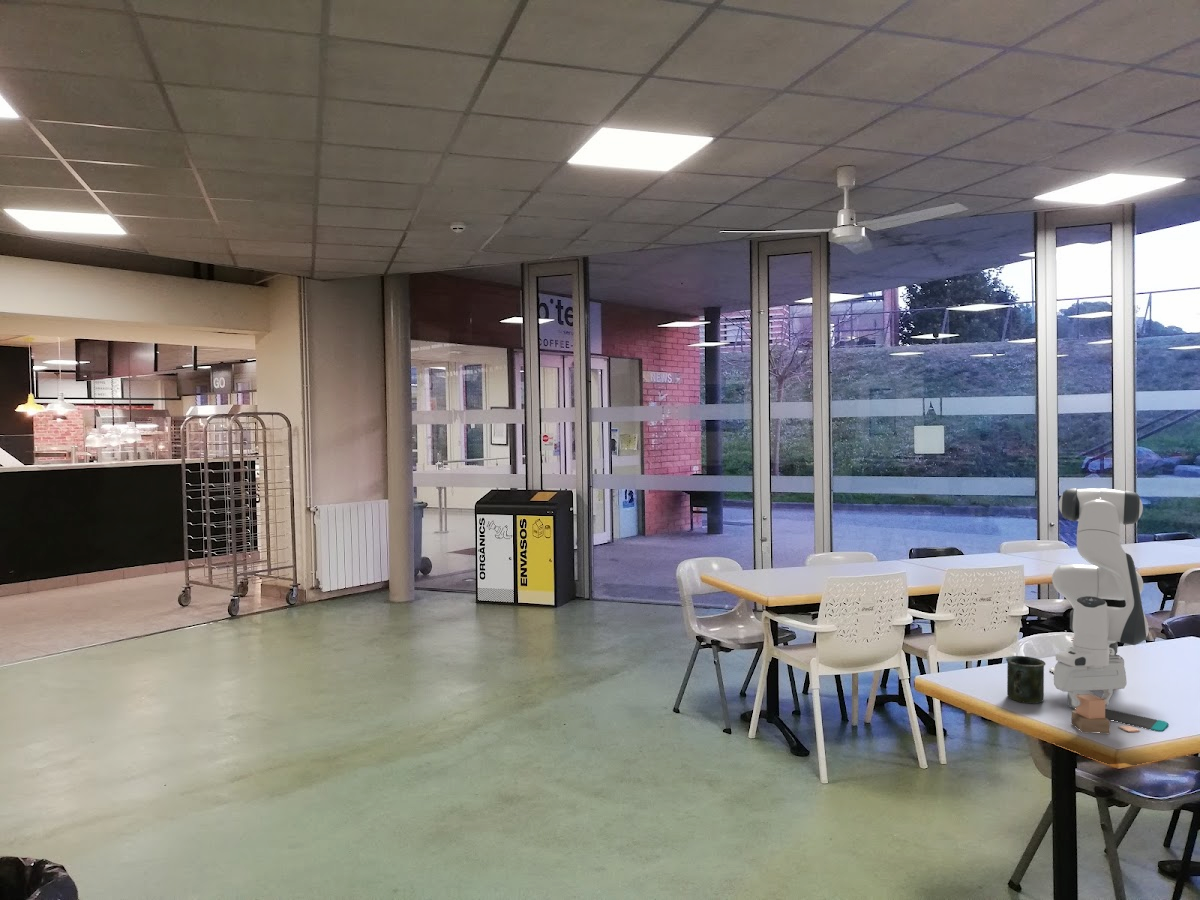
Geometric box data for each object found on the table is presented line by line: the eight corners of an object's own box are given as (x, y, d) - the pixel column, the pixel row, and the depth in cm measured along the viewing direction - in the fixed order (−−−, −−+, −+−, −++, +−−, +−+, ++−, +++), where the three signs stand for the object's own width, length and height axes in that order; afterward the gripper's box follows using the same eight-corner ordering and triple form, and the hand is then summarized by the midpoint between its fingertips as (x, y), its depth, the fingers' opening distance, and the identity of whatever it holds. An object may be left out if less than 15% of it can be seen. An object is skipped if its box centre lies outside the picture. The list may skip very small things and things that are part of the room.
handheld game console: (1162, 734, 222) (1171, 724, 228) (1162, 731, 222) (1170, 720, 228) (1083, 717, 236) (1094, 707, 243) (1083, 713, 236) (1094, 703, 242)
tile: (1118, 727, 225) (1118, 726, 225) (1129, 727, 225) (1129, 725, 225) (1128, 732, 221) (1128, 730, 221) (1139, 731, 222) (1139, 730, 222)
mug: (1049, 698, 250) (1049, 660, 250) (1036, 710, 240) (1036, 670, 240) (1012, 690, 258) (1012, 653, 258) (997, 701, 247) (997, 663, 247)
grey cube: (1067, 705, 244) (1068, 689, 244) (1082, 704, 244) (1082, 688, 244) (1079, 711, 239) (1080, 694, 239) (1095, 710, 239) (1095, 693, 239)
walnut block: (1071, 724, 228) (1071, 710, 228) (1098, 725, 227) (1098, 711, 227) (1081, 733, 222) (1082, 719, 221) (1109, 734, 220) (1109, 720, 220)
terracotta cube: (1075, 712, 227) (1075, 695, 226) (1091, 711, 227) (1091, 694, 227) (1088, 718, 222) (1089, 700, 222) (1105, 718, 222) (1105, 700, 222)
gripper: (1114, 651, 229) (1114, 699, 229) (1050, 654, 226) (1049, 703, 226) (1132, 657, 223) (1132, 706, 223) (1066, 660, 220) (1065, 710, 220)
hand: (1090, 705), depth 224 cm, fingers open, 7 cm apart
